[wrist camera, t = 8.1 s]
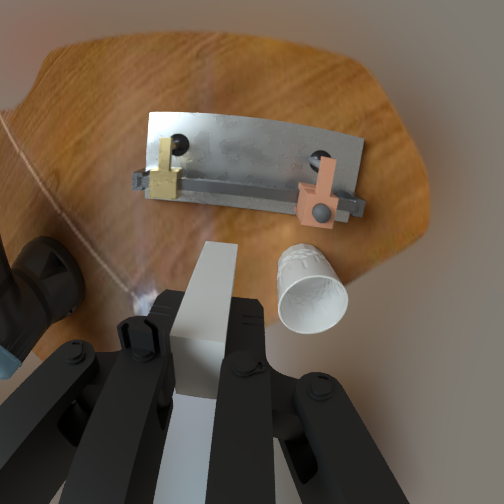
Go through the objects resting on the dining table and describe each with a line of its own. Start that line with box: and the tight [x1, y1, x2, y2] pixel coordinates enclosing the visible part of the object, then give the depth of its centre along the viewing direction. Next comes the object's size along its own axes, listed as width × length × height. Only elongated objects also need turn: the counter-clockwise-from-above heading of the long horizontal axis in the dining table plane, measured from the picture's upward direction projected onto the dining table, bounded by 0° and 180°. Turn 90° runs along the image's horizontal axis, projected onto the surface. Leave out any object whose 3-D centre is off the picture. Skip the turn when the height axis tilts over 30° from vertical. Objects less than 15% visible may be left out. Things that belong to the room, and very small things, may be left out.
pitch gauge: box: [132, 112, 366, 223], centre depth 29 cm, size 26×11×7 cm, turn 83°
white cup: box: [277, 243, 349, 334], centre depth 34 cm, size 8×8×10 cm
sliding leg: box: [294, 156, 339, 229], centre depth 27 cm, size 3×7×9 cm, turn 173°
